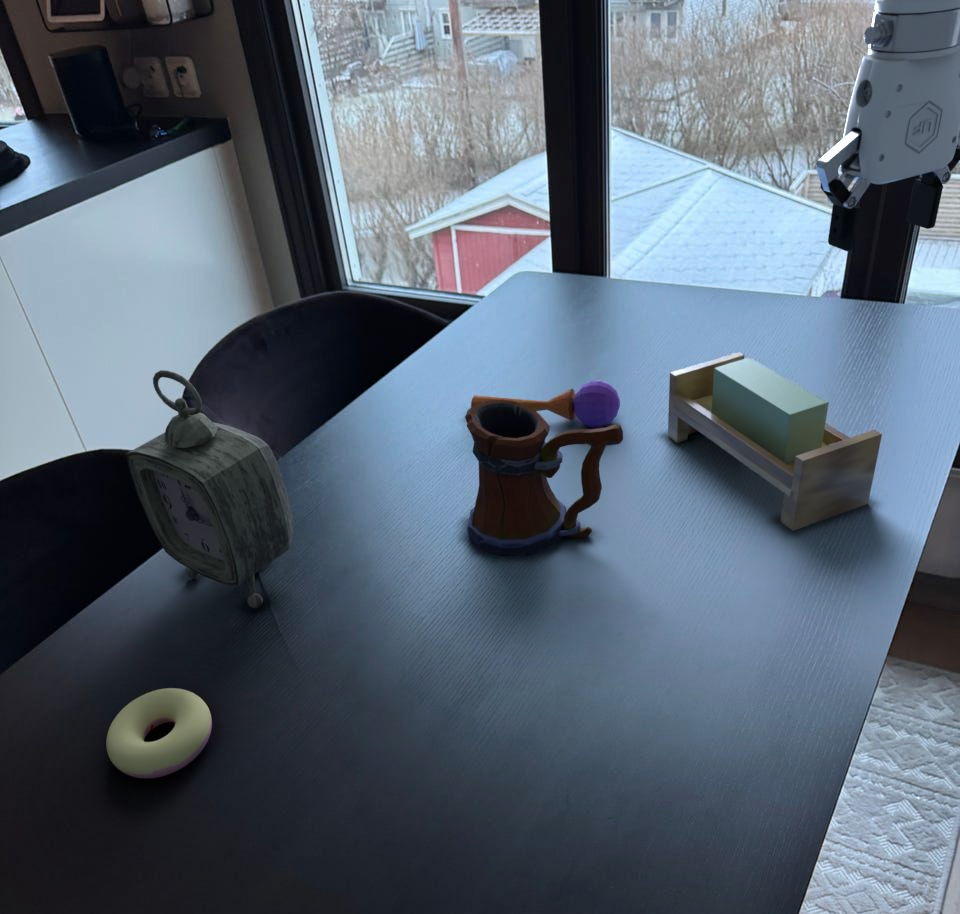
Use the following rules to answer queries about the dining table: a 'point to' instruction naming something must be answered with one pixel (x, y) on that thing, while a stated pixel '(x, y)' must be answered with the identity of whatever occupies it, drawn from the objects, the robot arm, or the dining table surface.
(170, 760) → the donut
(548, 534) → the mug
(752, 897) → the dining table surface
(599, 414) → the purple ball wooden maraca
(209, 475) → the tabletop clock
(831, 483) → the rack
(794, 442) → the bar
